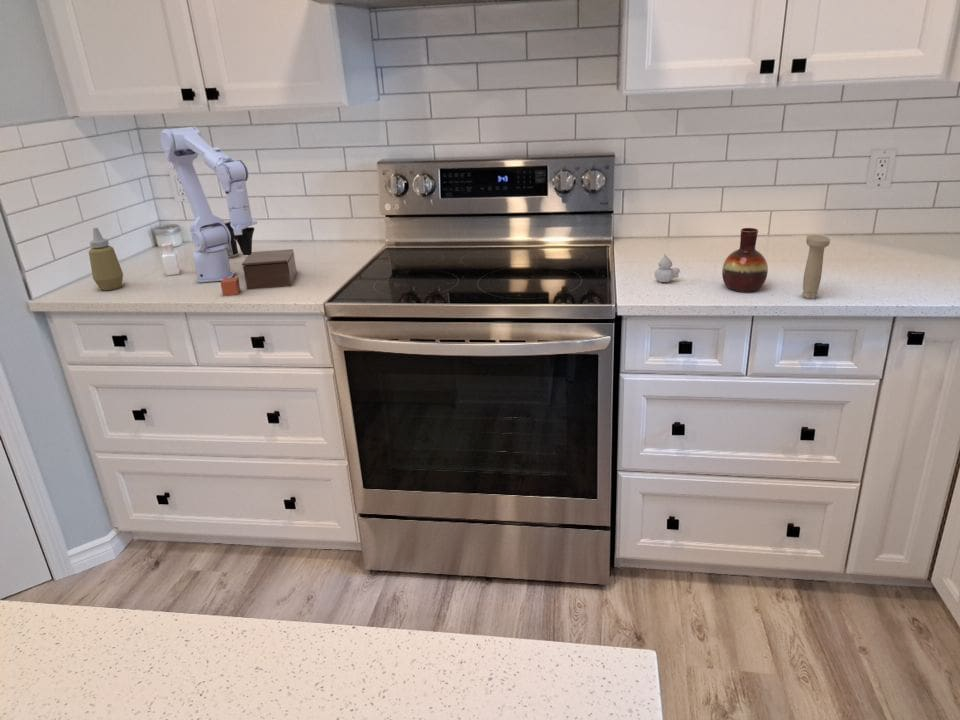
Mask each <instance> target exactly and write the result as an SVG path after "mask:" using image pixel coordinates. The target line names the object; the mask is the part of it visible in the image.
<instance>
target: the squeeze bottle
mask: <svg viewBox="0 0 960 720" xmlns="http://www.w3.org/2000/svg"><path fill="white" fill-rule="evenodd" d="M89 244H90V249H89V250H88V256H89V263H90V268H91V275H92V280H93V281H94V282H95V284H96V285H97V287H98V288H99V289H100V290H101V291H112V290H113V291H114V290H117V289H120V288H122V287H123V279H124V272H123V269H122V267H121V264H120V262H119V258H118V256H117V254H116V252H115V248H114V247H113V246H111V245H109V244H110V243H109V240H108V238H104V237H103V235H102V234H101V232H100V229H99V228H98V227H93V228H92V240H90V241H89Z"/></svg>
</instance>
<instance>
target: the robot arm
mask: <svg viewBox="0 0 960 720" xmlns="http://www.w3.org/2000/svg"><path fill="white" fill-rule="evenodd" d="M160 145H161V147H162V150H163V152H164V154H165V157H166V159H167V161H168V162H169V163H172V165H173V167H174V169H175V172H176V175H177V177H178V180H179V182H180V184H181V187H182V189H183V192H184V195H185V197H186V199H187V202H188V204H189V207H190V209H191V212H192V214H193V217H194V220H193V222H192V223H191V225H190V226H189V233H190V235H191V241H192V244H193V247H194V248H195V249H196V250H194V253H193V261H194V267H195V271H196V275H197V283H208V282H209V283H210V282H211V283H212V282H221V281H222V280H223V279H224V278H234V275H235V274H236V271H232V270H231V264H230V258H228V254H227V249H226V248H228V244H229V243H230V241H231V235H230V232H229V230H228V228H227V227H226V226H225V224H224V222H223V220H224V219H223V218H220V217H219V216H217V215H215V214H213V212H212V209H211V207H210V204H209V201H208V198H207V197H206V194H205V192H204V189H203V187H202V185H201V182H200V179H199V177H198V174H197V172H196V169H195V166H194V164H193V162H194V160H195V159H197V158H198V157H199V156H200V157H202V158H203V162H204V165H206V166H207V167H208V168H209V169H211V170H212V171H213V172H214V173H216V177H217V179H218V181H219V182H220V185H221V189H222V191H224V194H225V199H226V204H227V205H226V206H227V211H228V216H229V220H230V221H231V223H230V225H231V227H232V228H233V230H234V231H232V235H233V236H234V238H235V239H236V243H237V245H238V246H239V249H240V251H241V254H242V255H243V256H248V255H251V253H252V252H253V236H254V231H255V227H254V226H255V225H257V224H258V221H257V220H253V219H252V211H251V206H250V201H249V194H248V188H247V183H246V182H247V181H248V180H249V170H248V166H247V165H246V163H245V162H244V161H243V160H242V159H233V158H232V157H230V156H229V155H228V154H226V152H224V151H223V150H222V149H221V148H220V147H217V146H216V147H212V146H211V145H210V144H209V143H208V142H207V141H206V140H205V139H204V138H203V135H202V132H201V130H200V129H199V128H197V126H195V125H192V126H188V127H179V128H170V129H169V128H164V129H162V130H161V133H160ZM253 225H254V226H253Z"/></svg>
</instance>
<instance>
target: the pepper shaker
mask: <svg viewBox="0 0 960 720" xmlns="http://www.w3.org/2000/svg"><path fill="white" fill-rule="evenodd" d="M160 246H161V251H162V253H163V254H162V255H161V259H162V263H163V267H164V272H165V275H166V276H173V275H174V276H175V275H180V273H181V268H180V263H179V258H178V253H177V252H175V251H174V244H173V243H172V242H165V243H162V244H160Z"/></svg>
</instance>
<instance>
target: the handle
mask: <svg viewBox="0 0 960 720" xmlns="http://www.w3.org/2000/svg"><path fill="white" fill-rule="evenodd" d="M805 242H806V245H807V246H808V247H809V249H808V255H807V260H806V263H805V268H804V271H803V278H802V279H803V280H802V298H805V299H807V300H810V299H812V300H814V299H816V298H817V296H818V291H819V288H820V285H821V280H822V274H823V263H824V253H825V248H826V247H829V245H830V243H831V238H830V237H828V236H825V235H821V234H810V235H807V236H806V241H805Z"/></svg>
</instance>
